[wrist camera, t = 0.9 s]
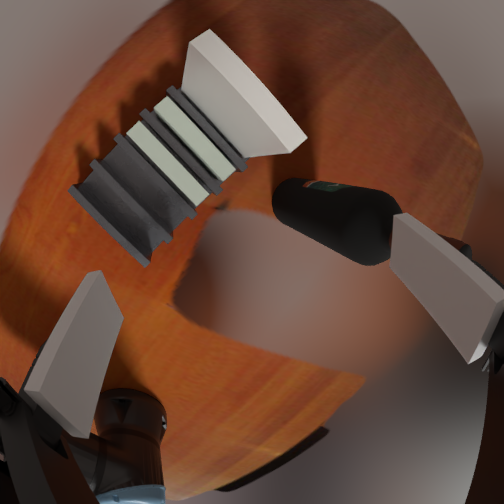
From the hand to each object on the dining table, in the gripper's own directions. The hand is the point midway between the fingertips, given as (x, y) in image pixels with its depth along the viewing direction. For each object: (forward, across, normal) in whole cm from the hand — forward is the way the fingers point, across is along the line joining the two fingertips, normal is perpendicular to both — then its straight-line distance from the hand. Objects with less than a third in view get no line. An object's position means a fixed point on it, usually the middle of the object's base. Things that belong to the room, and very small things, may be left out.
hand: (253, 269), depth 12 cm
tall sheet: (+30, +1, -5) cm, 30 cm away
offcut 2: (+29, +5, -3) cm, 29 cm away
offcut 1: (+28, +8, -1) cm, 29 cm away
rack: (+29, +8, -1) cm, 30 cm away
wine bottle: (+31, -9, +9) cm, 34 cm away
